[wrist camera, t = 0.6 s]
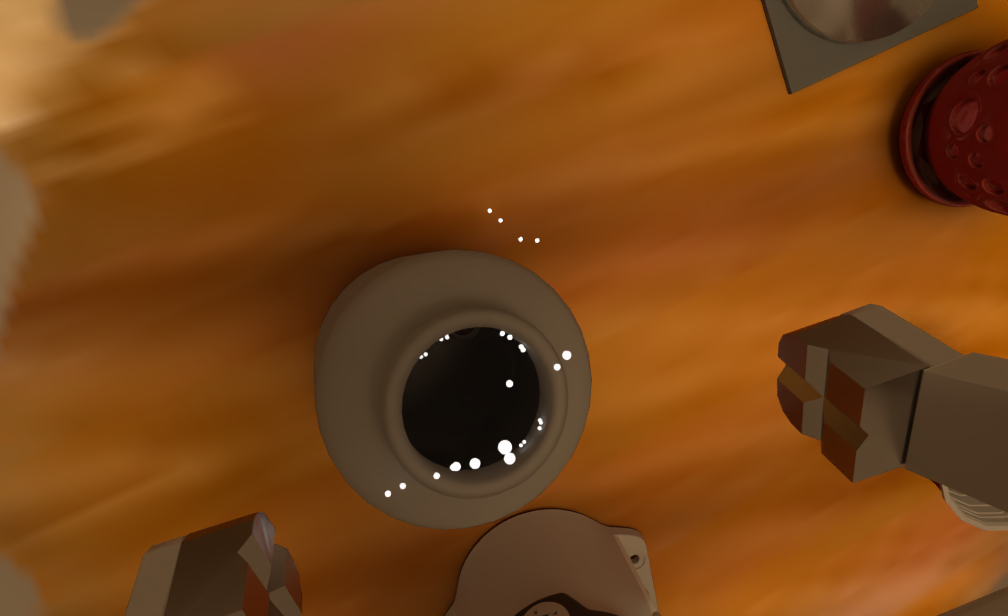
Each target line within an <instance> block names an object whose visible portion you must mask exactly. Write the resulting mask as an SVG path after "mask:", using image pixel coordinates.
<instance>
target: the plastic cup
mask: <svg viewBox="0 0 1008 616" xmlns="http://www.w3.org/2000/svg"><path fill="white" fill-rule="evenodd" d="M931 481H932V482H933V483H934V484H936V486H937V487H938V488H939V489H940V490H941V492H942V497H943V498H944V500H945V501H946V502H947V504H948V505H949V506H950V507H951V508H952V510H953V511H954V512H955V513H956V514H957V516H958V517H959V518H960V519H961V520H962V521H964V522H966V523H969V524H971V525H974V526H976V527H978V528H981V529H983V530H1008V513H1007V512H1005V511H1002V510H1000V509H998V508H996V507H993V506H991V505H989V504H986V503H984V502H982V501H979V500H977V499H975V498H972V497H970V496H968V495H965V494H963V493H961V492H958V491H956V490H954V489H951V488H949V487H947V486H944V485H942V484H940V483H937V482H935V481H933V480H931Z"/></svg>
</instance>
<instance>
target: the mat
mask: <svg viewBox="0 0 1008 616" xmlns="http://www.w3.org/2000/svg"><path fill="white" fill-rule="evenodd" d="M762 4H763V7H764V11H765V14H766V18H767V21H768V24H769V28H770V31H771V35H772V38H773V42H774V45H775V48H776V52H777V55H778V59H779V62H780V66H781V69H782V72H783V76H784V79H785V83H786V86H787V90H788V93H789V94H792V93H794V92H796V91H799V90H801V89H803V88H805V87H807V86H809V85H812V84H814V83H816V82H818V81H820V80H822V79H825V78H827V77H829V76H831V75H833V74H835V73H838V72H840V71H842V70H844V69H846V68H848V67H851V66H853V65H855V64H857V63H859V62H861V61H864V60H866V59H868V58H870V57H872V56H874V55H877V54H879V53H881V52H883V51H885V50H887V49H890V48H892V47H894V46H896V45H898V44H900V43H902V42H905V41H907V40H909V39H911V38H913V37H915V36H918V35H920V34H922V33H924V32H926V31H928V30H931V29H933V28H935V27H937V26H939V25H941V24H944V23H946V22H948V21H950V20H952V19H954V18H957V17H959V16H961V15H963V14H965V13H967V12H970V11H972V10H974V9H976V8H978V5H977V0H934V1H933V2H932V4H931V5H930V6H929V7H928V8H927V10H926V11H925V12H924V13H923V14H922V15H921V16H920V17H919V18H917V19H916V20H915V21H914V22H913V23H911V24H910V25H908V26H907V27H905V28H904V29H902V30H901V31H899V32H896V33H894V34H892V35H890V36H887V37H884V38H881V39H877V40H874V41H870V42H867V43H860V44H839V43H833V42H830V41H827V40H823V39H821V38H819V37H817V36H815V35H813V34H812V33H810V32H809V31H807V30H806V29H805V28H803V27H802V26H801V25H800V24H799V23H798V22H797V21H796V20H795V19H794V18H793V17H792V15H791V14H790V13H789V12H788V10H787V9H786V7H785V6H784V4H783V2H782V1H781V0H762Z"/></svg>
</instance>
